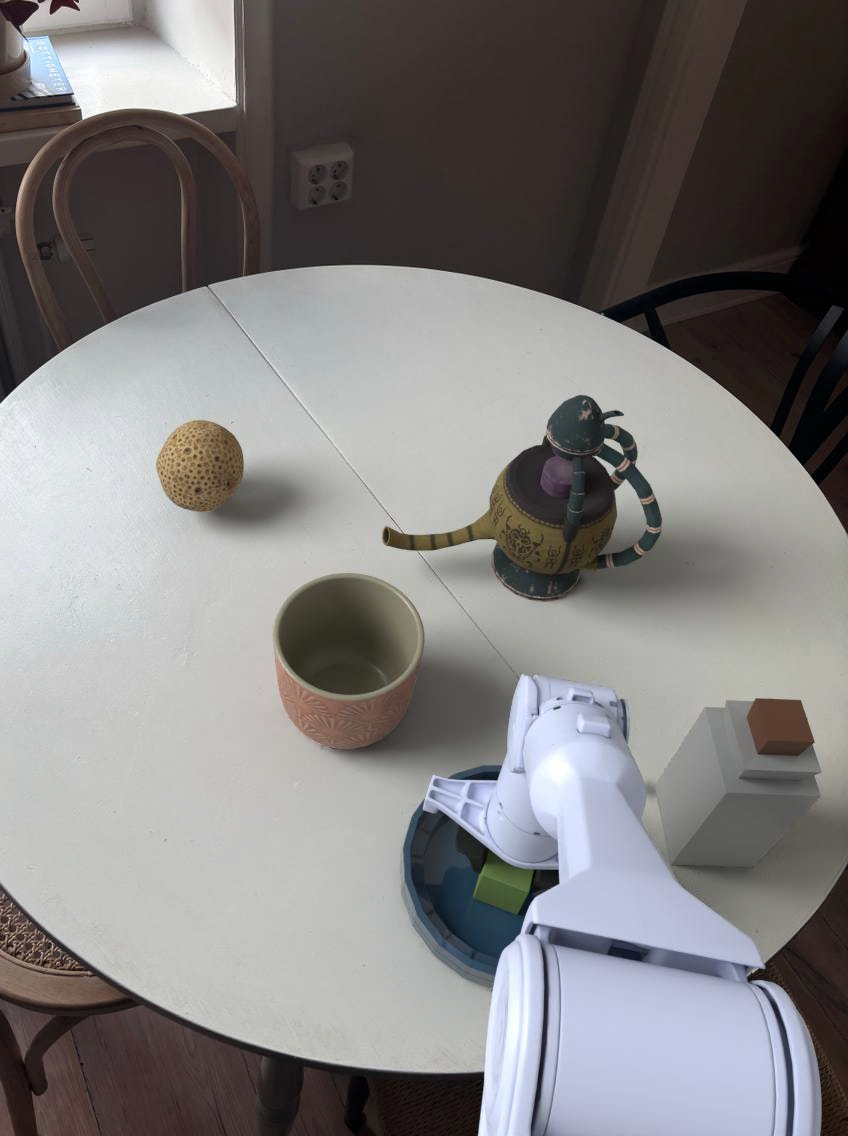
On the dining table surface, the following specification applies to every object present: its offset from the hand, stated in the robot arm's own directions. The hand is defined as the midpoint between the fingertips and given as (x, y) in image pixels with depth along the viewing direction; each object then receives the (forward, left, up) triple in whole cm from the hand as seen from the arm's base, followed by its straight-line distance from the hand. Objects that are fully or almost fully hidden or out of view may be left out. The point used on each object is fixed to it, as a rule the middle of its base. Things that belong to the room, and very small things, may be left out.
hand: (506, 870), depth 73 cm
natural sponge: (+46, +14, -2) cm, 48 cm away
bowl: (0, 0, -2) cm, 2 cm away
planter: (+19, +7, -2) cm, 20 cm away
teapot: (+29, -13, -2) cm, 32 cm away
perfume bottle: (-1, -18, -2) cm, 18 cm away
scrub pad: (0, 0, -1) cm, 1 cm away
